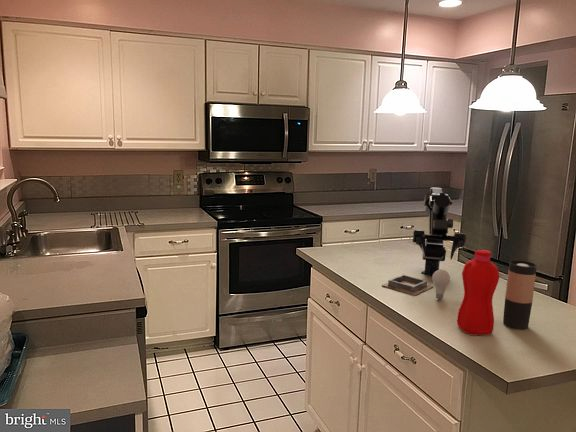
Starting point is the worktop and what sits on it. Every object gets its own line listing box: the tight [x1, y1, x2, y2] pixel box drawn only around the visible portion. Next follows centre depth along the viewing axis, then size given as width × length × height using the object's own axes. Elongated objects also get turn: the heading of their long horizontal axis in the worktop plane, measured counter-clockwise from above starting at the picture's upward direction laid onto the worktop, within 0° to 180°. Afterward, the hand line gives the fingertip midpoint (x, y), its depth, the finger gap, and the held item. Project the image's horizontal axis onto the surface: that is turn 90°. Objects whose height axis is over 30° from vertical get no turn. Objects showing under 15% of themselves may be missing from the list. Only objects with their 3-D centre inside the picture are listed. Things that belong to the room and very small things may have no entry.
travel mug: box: [502, 259, 538, 331], centre depth 148 cm, size 8×8×20 cm
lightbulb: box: [431, 269, 451, 301], centre depth 169 cm, size 6×6×11 cm
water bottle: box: [456, 249, 500, 336], centre depth 144 cm, size 9×11×25 cm
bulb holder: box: [381, 274, 434, 297], centre depth 183 cm, size 14×14×2 cm
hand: (438, 257), depth 176 cm, fingers open, 9 cm apart
